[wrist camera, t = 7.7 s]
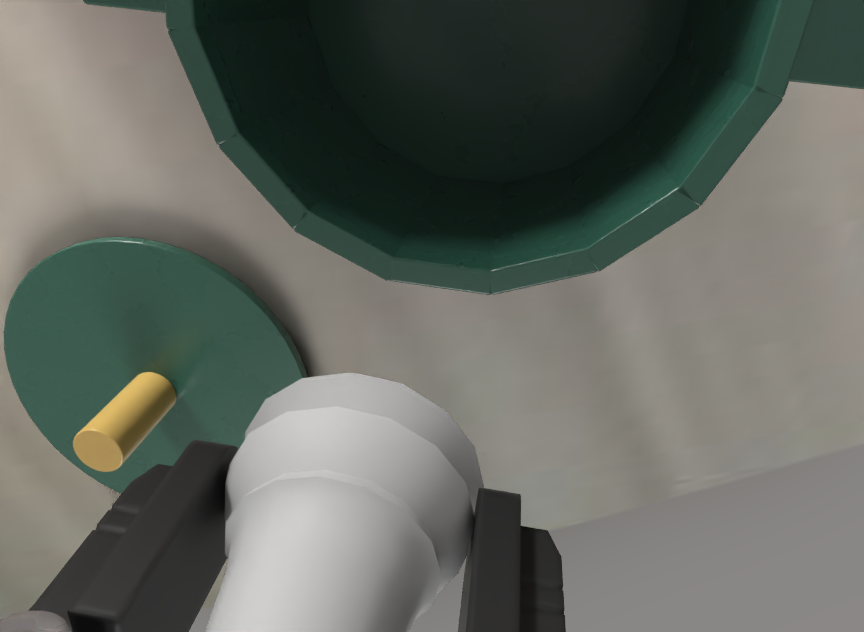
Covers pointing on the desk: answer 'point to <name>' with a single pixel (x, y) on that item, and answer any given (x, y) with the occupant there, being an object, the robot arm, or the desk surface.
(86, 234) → the desk surface
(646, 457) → the desk surface
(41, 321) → the lid
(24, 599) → the desk surface
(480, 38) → the pot
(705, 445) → the desk surface
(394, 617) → the rook chess piece
